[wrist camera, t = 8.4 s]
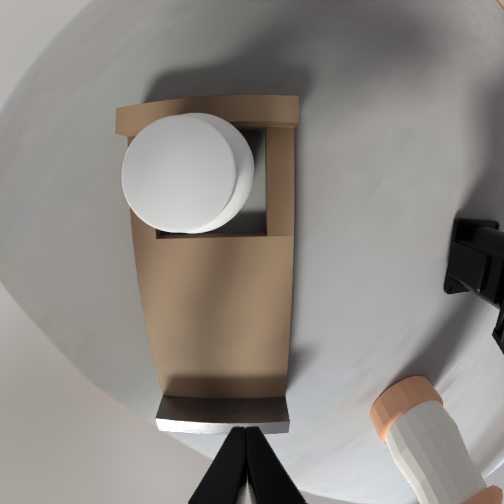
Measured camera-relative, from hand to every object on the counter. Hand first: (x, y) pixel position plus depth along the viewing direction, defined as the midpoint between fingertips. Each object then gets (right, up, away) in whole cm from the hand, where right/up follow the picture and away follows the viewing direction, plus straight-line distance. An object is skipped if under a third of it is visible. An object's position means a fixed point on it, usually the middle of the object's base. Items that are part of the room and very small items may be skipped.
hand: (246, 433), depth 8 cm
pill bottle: (-2, +11, +10) cm, 15 cm away
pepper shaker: (+16, -10, +16) cm, 25 cm away
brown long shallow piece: (-2, +4, +11) cm, 12 cm away
